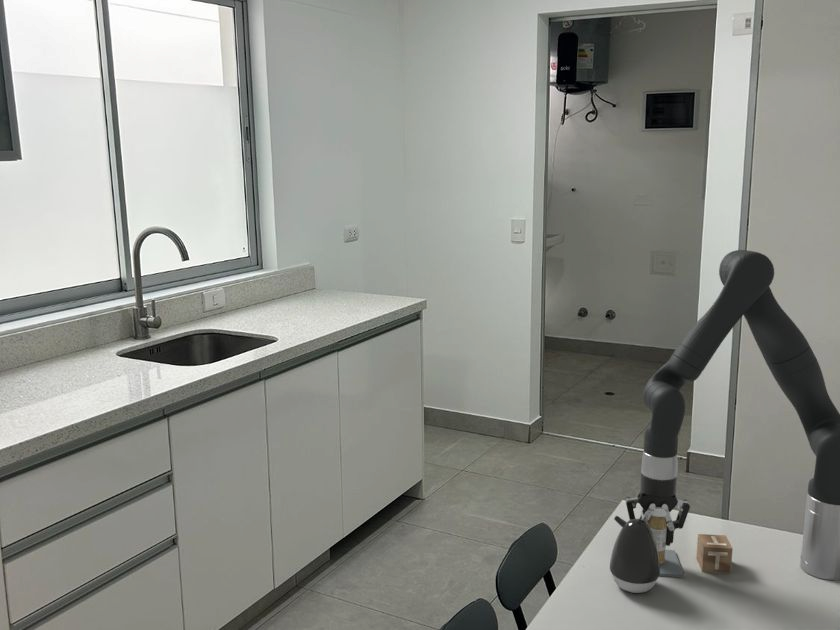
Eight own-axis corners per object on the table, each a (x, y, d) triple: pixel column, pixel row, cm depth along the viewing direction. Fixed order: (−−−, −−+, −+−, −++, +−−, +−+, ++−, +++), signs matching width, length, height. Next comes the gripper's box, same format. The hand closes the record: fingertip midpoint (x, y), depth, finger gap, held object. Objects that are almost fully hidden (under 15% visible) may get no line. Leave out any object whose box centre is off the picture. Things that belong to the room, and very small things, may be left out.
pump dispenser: (624, 568, 180) (628, 504, 177) (667, 586, 173) (672, 519, 170) (598, 586, 173) (601, 519, 170) (642, 605, 166) (646, 536, 163)
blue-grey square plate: (674, 552, 187) (674, 550, 187) (683, 577, 176) (683, 574, 176) (625, 549, 188) (625, 547, 188) (631, 574, 178) (631, 571, 178)
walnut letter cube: (723, 559, 184) (725, 534, 183) (730, 574, 178) (732, 548, 177) (696, 558, 185) (698, 533, 183) (702, 572, 179) (704, 546, 177)
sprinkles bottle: (651, 553, 185) (655, 498, 183) (669, 561, 182) (673, 505, 179) (639, 559, 183) (643, 503, 180) (657, 567, 179) (661, 511, 176)
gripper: (689, 466, 181) (684, 537, 184) (623, 463, 182) (619, 534, 186) (696, 480, 173) (691, 553, 177) (627, 477, 175) (623, 550, 179)
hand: (654, 543), depth 181 cm, fingers open, 5 cm apart
